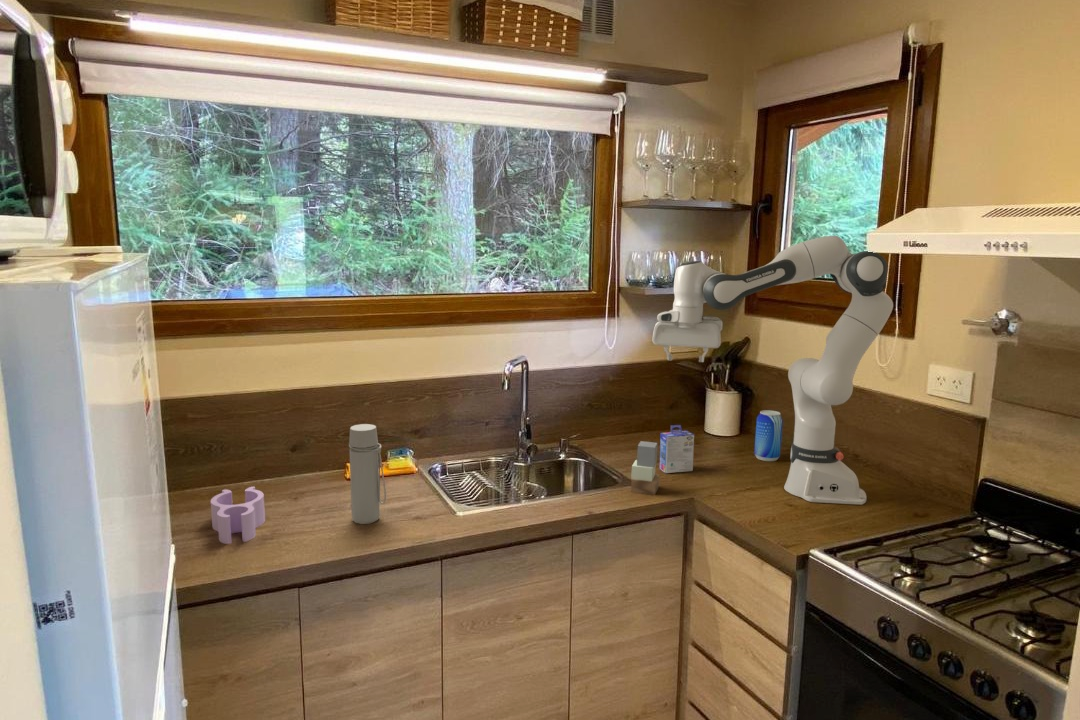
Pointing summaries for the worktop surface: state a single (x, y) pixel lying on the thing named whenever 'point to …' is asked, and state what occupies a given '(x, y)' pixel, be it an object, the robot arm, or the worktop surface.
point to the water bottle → (365, 473)
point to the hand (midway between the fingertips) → (685, 361)
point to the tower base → (645, 486)
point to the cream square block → (642, 472)
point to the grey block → (647, 454)
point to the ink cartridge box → (676, 450)
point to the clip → (237, 514)
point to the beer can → (768, 435)
